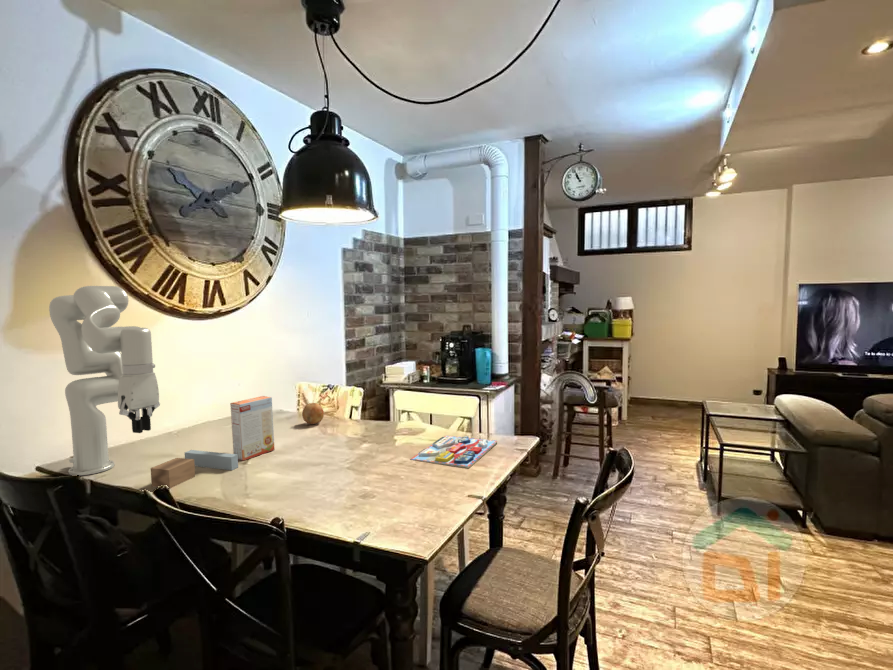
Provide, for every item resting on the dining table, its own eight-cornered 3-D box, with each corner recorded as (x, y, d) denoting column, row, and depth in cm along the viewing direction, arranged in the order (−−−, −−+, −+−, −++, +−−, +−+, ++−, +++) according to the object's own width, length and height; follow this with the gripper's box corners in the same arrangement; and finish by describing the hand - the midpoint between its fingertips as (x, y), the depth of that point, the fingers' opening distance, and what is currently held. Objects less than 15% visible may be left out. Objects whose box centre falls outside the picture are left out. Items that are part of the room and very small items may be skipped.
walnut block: (151, 487, 146) (150, 468, 145) (177, 475, 155) (176, 457, 155) (169, 489, 144) (168, 470, 143) (195, 477, 153) (194, 459, 153)
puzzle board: (445, 438, 195) (445, 432, 194) (497, 444, 185) (497, 438, 185) (409, 461, 167) (409, 454, 167) (469, 470, 157) (469, 462, 157)
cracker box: (265, 448, 183) (262, 395, 181) (275, 450, 180) (273, 396, 178) (232, 458, 171) (229, 402, 169) (242, 461, 168) (239, 403, 166)
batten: (185, 464, 165) (184, 452, 164) (192, 462, 167) (191, 449, 167) (231, 470, 159) (231, 457, 158) (238, 467, 162) (237, 454, 161)
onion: (326, 421, 223) (325, 400, 222) (321, 426, 213) (321, 404, 213) (305, 421, 223) (304, 400, 222) (300, 427, 213) (299, 405, 212)
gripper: (152, 365, 146) (155, 423, 147) (101, 373, 131) (105, 438, 132) (171, 366, 144) (174, 425, 145) (121, 374, 129) (126, 440, 130)
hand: (141, 430), depth 139 cm, fingers closed
